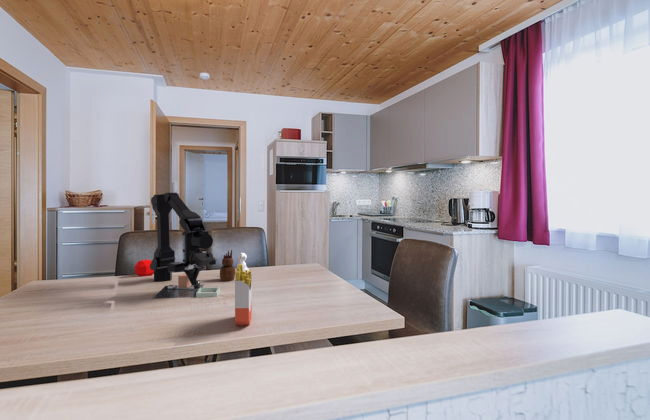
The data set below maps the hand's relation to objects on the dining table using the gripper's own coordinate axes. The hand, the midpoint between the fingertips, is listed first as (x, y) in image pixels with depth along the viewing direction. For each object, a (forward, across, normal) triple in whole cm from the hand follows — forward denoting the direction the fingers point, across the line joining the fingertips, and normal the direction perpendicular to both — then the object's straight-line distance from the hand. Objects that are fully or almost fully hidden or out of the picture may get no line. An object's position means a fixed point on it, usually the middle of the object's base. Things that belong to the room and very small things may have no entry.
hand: (193, 285), depth 138 cm
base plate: (+3, -3, +5) cm, 7 cm away
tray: (+4, +1, -8) cm, 9 cm away
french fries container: (+5, -8, -39) cm, 40 cm away
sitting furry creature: (+3, +30, +5) cm, 30 cm away
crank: (+2, 0, +6) cm, 6 cm away
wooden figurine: (+4, +20, +3) cm, 20 cm away
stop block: (+2, +2, +8) cm, 9 cm away
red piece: (+2, +4, +43) cm, 43 cm away
